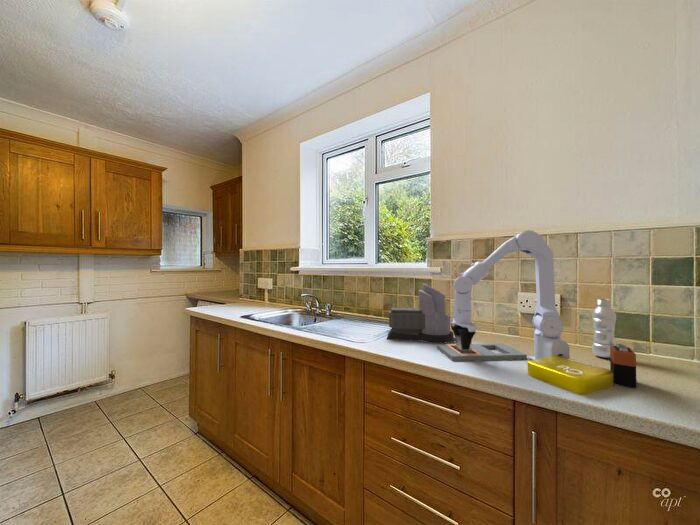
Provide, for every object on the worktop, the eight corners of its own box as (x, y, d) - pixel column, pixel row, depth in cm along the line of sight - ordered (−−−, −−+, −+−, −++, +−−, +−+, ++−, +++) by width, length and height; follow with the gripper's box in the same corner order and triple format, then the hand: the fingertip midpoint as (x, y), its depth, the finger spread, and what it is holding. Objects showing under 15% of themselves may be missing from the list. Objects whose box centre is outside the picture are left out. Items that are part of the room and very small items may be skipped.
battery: (631, 380, 78) (631, 344, 78) (637, 389, 72) (636, 350, 72) (610, 376, 80) (609, 341, 80) (613, 384, 75) (613, 347, 75)
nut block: (471, 354, 100) (471, 337, 100) (460, 354, 99) (460, 337, 99) (466, 351, 104) (466, 334, 104) (456, 351, 103) (455, 335, 103)
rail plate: (526, 359, 95) (526, 354, 96) (452, 360, 94) (452, 355, 94) (502, 347, 109) (502, 342, 109) (437, 348, 108) (437, 344, 108)
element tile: (617, 387, 74) (617, 369, 74) (581, 397, 69) (581, 378, 69) (557, 368, 88) (557, 353, 88) (524, 375, 83) (524, 359, 83)
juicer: (453, 334, 130) (452, 282, 130) (459, 344, 114) (459, 284, 115) (388, 332, 136) (387, 281, 136) (386, 341, 120) (385, 283, 120)
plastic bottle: (609, 355, 99) (608, 298, 100) (622, 361, 93) (621, 301, 93) (587, 353, 101) (587, 298, 101) (598, 359, 95) (598, 300, 95)
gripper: (444, 307, 109) (444, 342, 108) (460, 313, 94) (461, 353, 94) (461, 306, 109) (462, 341, 109) (481, 313, 95) (481, 353, 94)
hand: (462, 347), depth 101 cm, fingers closed on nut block, 4 cm apart
